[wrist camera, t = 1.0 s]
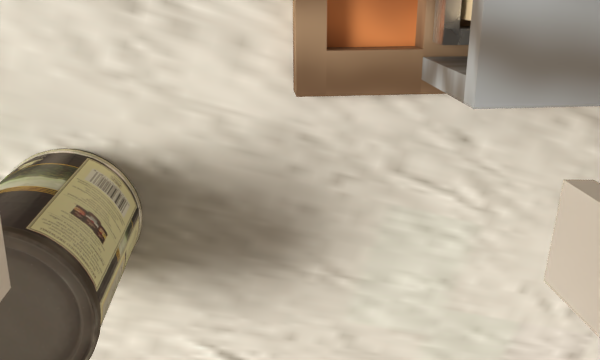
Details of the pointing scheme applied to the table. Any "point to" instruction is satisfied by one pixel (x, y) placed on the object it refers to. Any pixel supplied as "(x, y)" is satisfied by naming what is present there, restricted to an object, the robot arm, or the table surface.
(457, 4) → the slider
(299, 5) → the bench vise
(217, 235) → the table surface
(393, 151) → the table surface
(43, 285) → the coffee can
